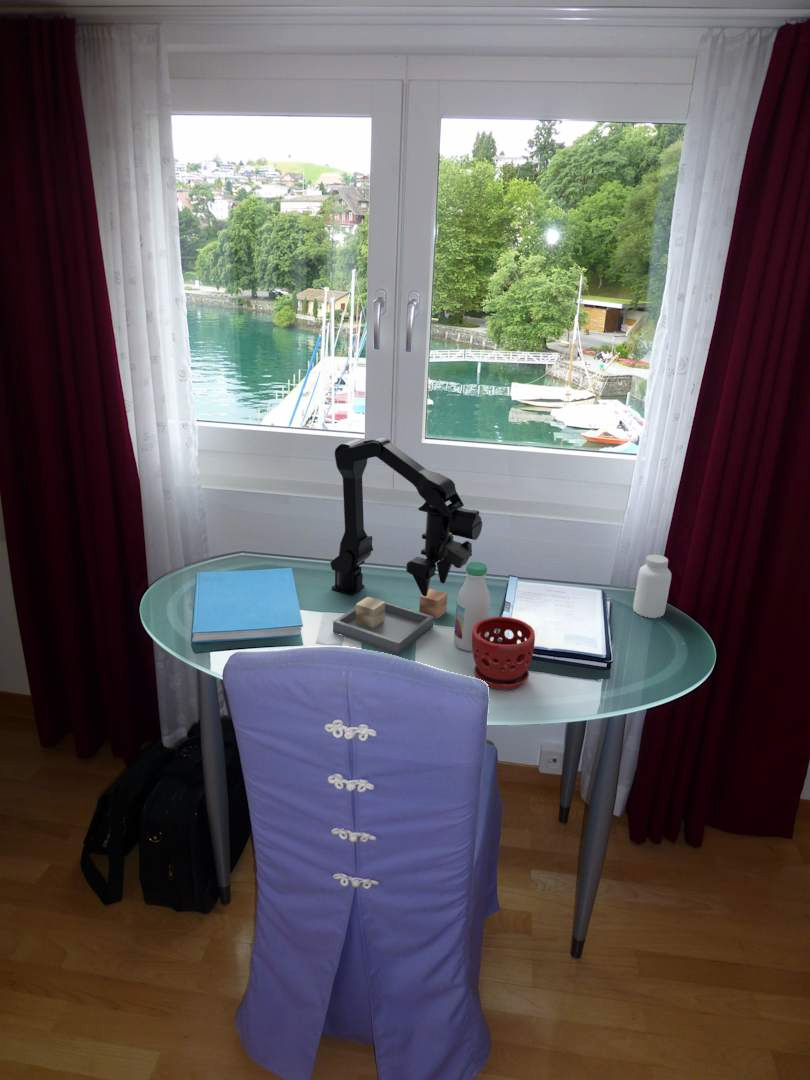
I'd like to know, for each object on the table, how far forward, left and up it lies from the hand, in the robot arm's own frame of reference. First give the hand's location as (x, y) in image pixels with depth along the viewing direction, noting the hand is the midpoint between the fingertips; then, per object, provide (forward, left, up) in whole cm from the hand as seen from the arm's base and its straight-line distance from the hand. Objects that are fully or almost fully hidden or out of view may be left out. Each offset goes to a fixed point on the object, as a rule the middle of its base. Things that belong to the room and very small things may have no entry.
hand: (433, 589), depth 201 cm
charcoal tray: (-5, -15, -6) cm, 17 cm away
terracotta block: (0, 0, -6) cm, 7 cm away
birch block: (-9, -15, -5) cm, 18 cm away
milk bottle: (+15, -9, -7) cm, 19 cm away
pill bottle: (+45, +33, -7) cm, 56 cm away
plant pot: (+27, -19, -7) cm, 34 cm away
